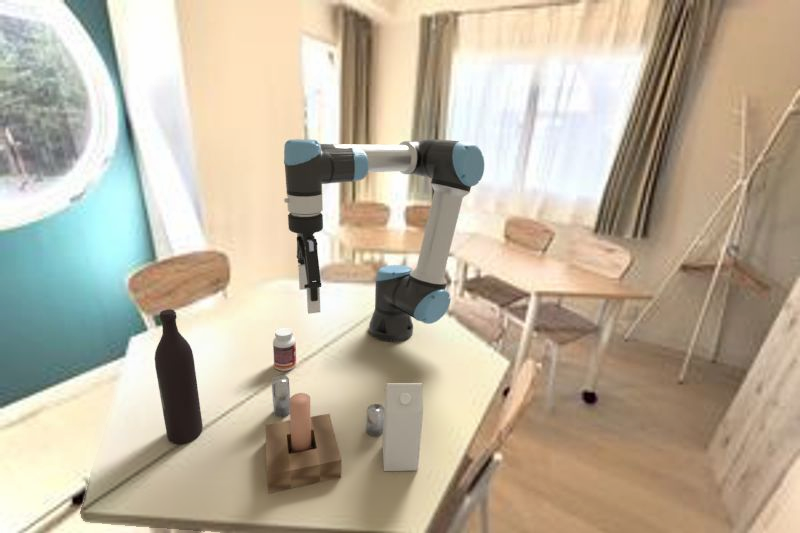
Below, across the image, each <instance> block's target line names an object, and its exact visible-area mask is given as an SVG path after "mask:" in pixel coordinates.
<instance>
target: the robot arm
mask: <svg viewBox="0 0 800 533" xmlns="http://www.w3.org/2000/svg"><path fill="white" fill-rule="evenodd" d="M283 150H284V151H283V154H284V155H283V157H284V158H283V164H284V172H285V175H284V176H285V187H286V198H284V199H283V201H284V203H285V204H287V211H288V212H289V213H288V214H287V224H288V231H290V232H292V233H294V234H296V235H297V237H296V258H297V263H298V265H297V267H298V268H297V269H298V283H299V290H300V291H302V290H306V303H307V306H306V307H307V314H308V315H309V314H316V313H321V296H320V295H321V292H320V290H321V287H322V282H321V281H322V280H321V272H320V261H319V255H318V254H319V252H318V242H317V238H315V235H314V234H315V233H319V232H321V231H322V230H323V229H324V217H323V216H324V214H322V213H321V212H323V206H324V205H323V185H327V184H336V183H337V184H338V183H347V182H348V183H349V182H350V183H353V182H358V181H362V180H364V179H366V177H367V175H368V173H388V172H390V173H391V172H392V173H393V172H400V173H401V174H402V175H413V176H414V175H415V176H420V177H424V178H429V179H431V180H430V186H431V187H432V189H433V196H432V199H431V204H430V210H429V212H428V217H427V221H426V225H425V230H424V234H423V238H422V242H421V246H420V251H419V255H418V259H417V263H416V268H415V269H414V270H413V269H412V268H411V267H410V266H408V265H401V264H394V265H393V264H392V265H386V266H382V267H380V268H378V270H377V272H376V277H375V278H376V279H375V280H374V281H375V288H374V289H375V290H374V291H375V297H374V301H375V302H374V311H373V314H372V316H371V319H370V321H369V325H368V332H369V334H370V336H372V337H373V338H375V339H378V340H381V341H384V342H401V341H405V340H407V339H409V338H410V337H412V335H413V333H414V323H413V320H412V319H414V320H415V321H418V322H421V323H423V324H426V325H427V324H428V325H429V324H430V325H431V324H434V323H436V322H438V321H439V320H440V319H441V318H443V317H444V316H445V315H446V313H447V311H448V310H449V308H450V304H451V295H450V293H449V291H448V290H446V287H447V283H448V281H447V279H446V277H445V270H446V268H447V263H448V258H449V255H450V250H451V246H452V243H453V238H454V235H455V231H456V226H457V222H458V219H459V214H460V211H461V207H462V203H463V198H464V197H465V196H467V195H469V194H470V193H471V187H474V186H477V185H478V184H479V181H481V180H482V178H483V176H484V171H485V158H484V156H483V153H482V151H481V149H480V146H479V147H478V145H477V144H474V143H472V142H467V141H463V140H460V141H459V140H448V139H440V138H439V139H436V138H432V139H430V138H429V139H421V140H405V141H402V142H400V143H399V144H373V143H371V144H366V143H365V144H361V143H360V144H359V143H358V144H357V143H354V144H353V143H350V144H349V143H330V144H328V143H321V142H320V141H319V140H317V139H307V138H306V139H302V138H300V139H299V138H295V139H288V140H287V141H285V143H284V149H283Z"/></svg>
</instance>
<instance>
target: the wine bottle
mask: <svg viewBox="0 0 800 533" xmlns="http://www.w3.org/2000/svg"><path fill="white" fill-rule="evenodd" d="M158 316H159V320H160V322H161V326H162V334H161V337H160V339H159V342H158V344H157V346H156V349H155V352H154V364H155V373H156V378H157V384H158V390H159V396H160V401H161V407H162V414H163V420H164V426H165V431H166V432H165V433H166V438H167V439H168V441H169V442H170V443H172V444H175V445H183V444H187V443H190V442H192V441H194V440H195V439H197V438H198V437H199V436H200V435H201V433H202V432H203V428H204V426H203V420H202V419H203V418H202V412H201V404H200V396H199V395H200V394H199V389H198V388H199V387H198V381H197V373H196V372H197V371H196V367H195V364H196V363H195V359H194V358H195V357H194V354H193V350H192V348H191V344H190V343H189V342H188V341H187V340H186V338H185V337H184V336H183V335H182V334H181V333H180V332H179V331H180V330H178V329H179V328H178V326H177V312H176V311H175V310H174V309H171V308H169V309H168V308H167V309H164V310H162V311H160V314H158Z"/></svg>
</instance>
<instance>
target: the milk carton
mask: <svg viewBox="0 0 800 533" xmlns="http://www.w3.org/2000/svg"><path fill="white" fill-rule="evenodd" d="M383 403H384V406H383V407H384V422H383V433H382V442H381V443H382V445H381V446H382V461H383V462H382V464H383V471H384V472H400V471H401V472H408V471H418V470H419V463H420V462H419V461H420V449H421V448H420V447H421V439H422V430H423V429H422V428H423V419H424V418H423V416H424V402H423V383H422V382H417V383H416V382H412V383H411V382H408V383H407V382H401V383H399V382H397V383H395V382H393V383H390V382H389V383H388V382H387V383H386V388H385V389H384V402H383Z"/></svg>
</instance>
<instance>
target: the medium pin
mask: <svg viewBox="0 0 800 533" xmlns="http://www.w3.org/2000/svg"><path fill="white" fill-rule="evenodd" d="M290 390H291V388H290V377H288V376H287V375H283V374H281V375H276V376H274V377H272V379H271V393H272V404H273V405H272V406H273V414H274V416H276V417H277V418H285V417H287V416H290V398H291V391H290Z"/></svg>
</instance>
